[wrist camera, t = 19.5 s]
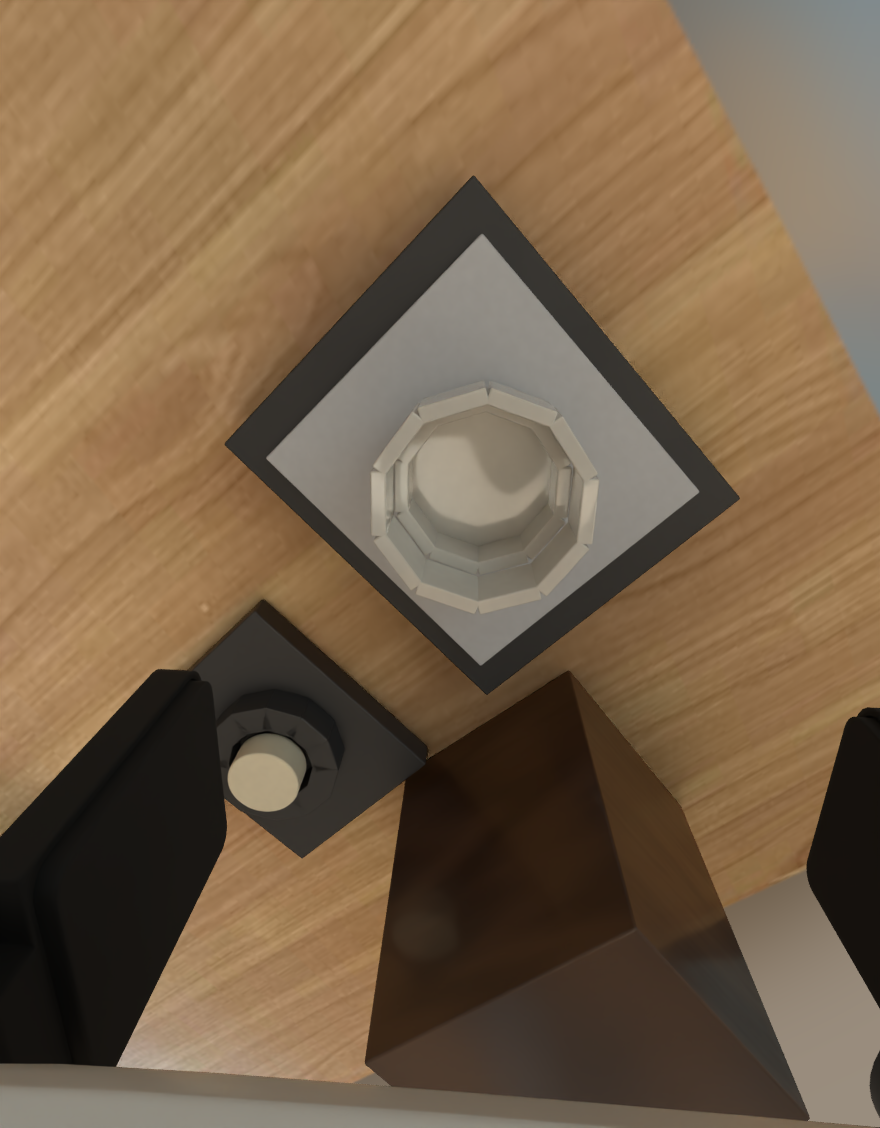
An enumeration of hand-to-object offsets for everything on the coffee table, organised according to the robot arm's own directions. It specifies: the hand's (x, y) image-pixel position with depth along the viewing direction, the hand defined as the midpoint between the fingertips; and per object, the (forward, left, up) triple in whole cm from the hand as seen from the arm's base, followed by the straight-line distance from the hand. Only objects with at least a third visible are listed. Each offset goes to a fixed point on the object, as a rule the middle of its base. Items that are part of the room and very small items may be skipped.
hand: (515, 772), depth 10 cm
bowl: (0, -1, -16) cm, 16 cm away
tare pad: (+9, +13, -20) cm, 25 cm away
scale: (0, -1, -20) cm, 20 cm away
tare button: (+9, +13, -17) cm, 24 cm away
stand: (-4, +16, -20) cm, 26 cm away
